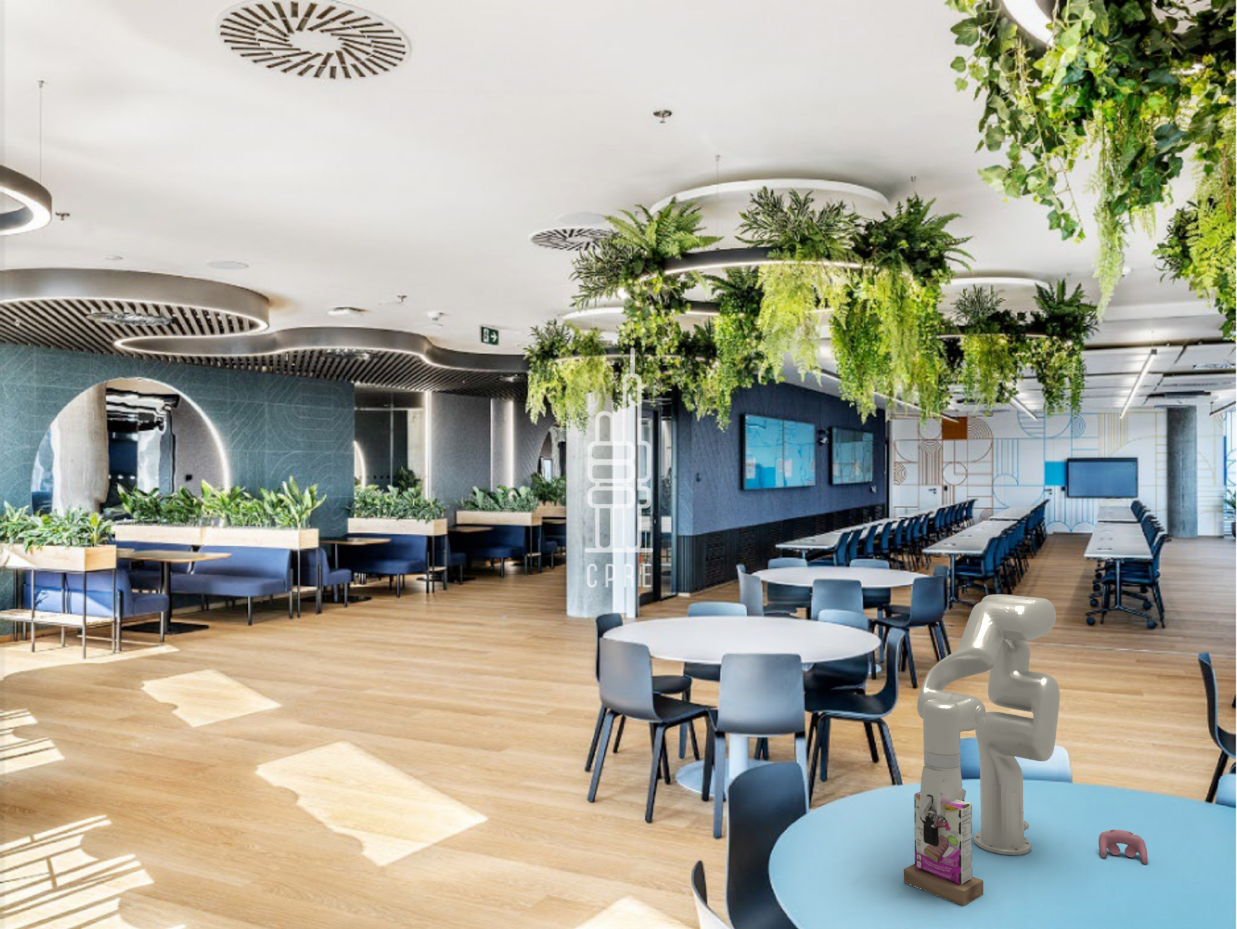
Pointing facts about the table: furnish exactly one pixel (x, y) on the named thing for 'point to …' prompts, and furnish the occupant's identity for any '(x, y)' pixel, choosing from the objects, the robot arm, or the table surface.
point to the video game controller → (1124, 837)
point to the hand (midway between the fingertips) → (943, 837)
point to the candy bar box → (946, 843)
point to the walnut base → (944, 886)
